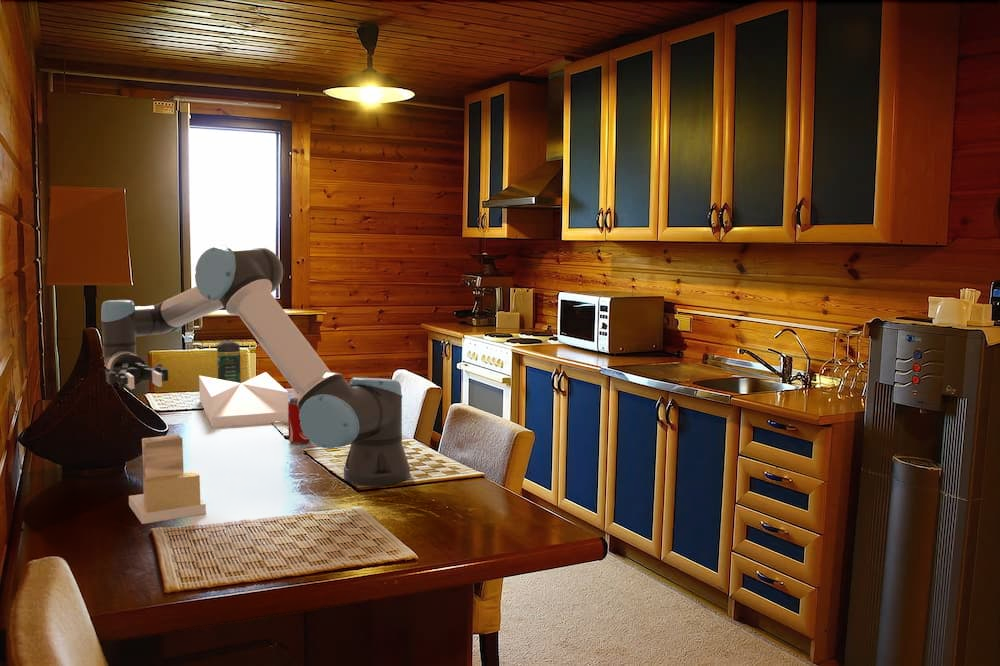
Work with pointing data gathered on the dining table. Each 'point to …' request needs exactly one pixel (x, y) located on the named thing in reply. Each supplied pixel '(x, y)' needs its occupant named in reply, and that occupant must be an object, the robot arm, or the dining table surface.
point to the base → (138, 508)
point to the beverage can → (295, 424)
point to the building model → (243, 401)
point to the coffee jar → (228, 361)
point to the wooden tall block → (162, 456)
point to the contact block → (171, 492)
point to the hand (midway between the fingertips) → (146, 381)
